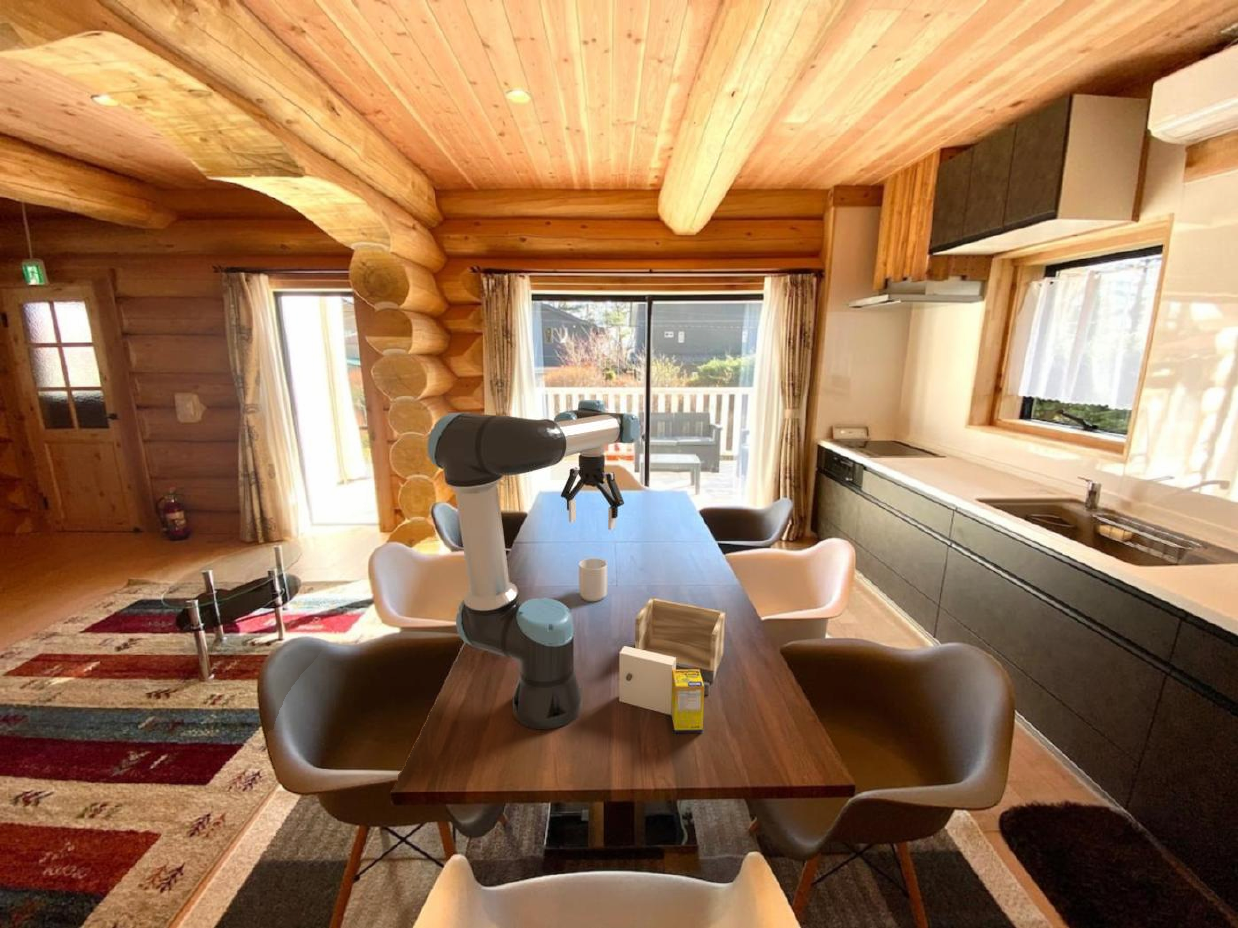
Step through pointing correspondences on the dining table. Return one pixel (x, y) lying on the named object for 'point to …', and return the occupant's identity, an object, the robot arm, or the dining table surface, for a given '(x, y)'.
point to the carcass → (683, 635)
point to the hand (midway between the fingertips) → (591, 524)
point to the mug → (593, 579)
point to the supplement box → (687, 701)
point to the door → (646, 679)
